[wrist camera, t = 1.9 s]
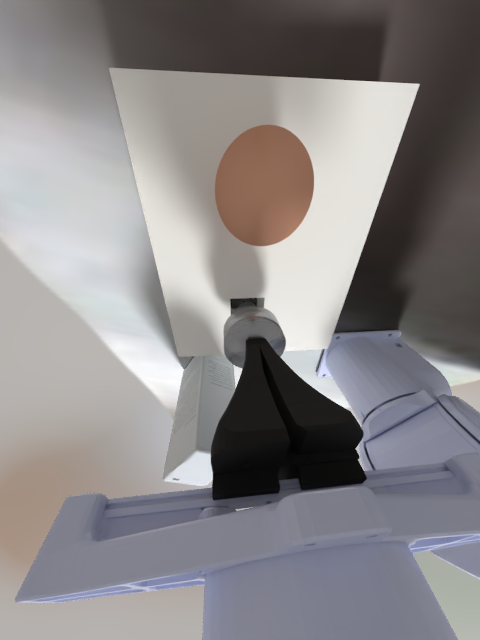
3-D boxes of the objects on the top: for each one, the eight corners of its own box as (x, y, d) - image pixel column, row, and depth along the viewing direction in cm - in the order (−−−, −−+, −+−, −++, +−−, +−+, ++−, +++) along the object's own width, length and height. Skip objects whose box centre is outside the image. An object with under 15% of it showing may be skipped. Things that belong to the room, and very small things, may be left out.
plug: (272, 287, 17) (290, 320, 12) (267, 328, 19) (281, 367, 15) (221, 289, 16) (222, 323, 12) (223, 330, 19) (225, 370, 14)
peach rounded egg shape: (286, 151, 12) (325, 126, 7) (278, 230, 14) (303, 245, 10) (214, 150, 11) (210, 122, 7) (218, 230, 14) (217, 246, 9)
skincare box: (210, 380, 27) (205, 487, 17) (183, 370, 26) (159, 482, 16) (234, 353, 25) (243, 460, 15) (205, 340, 23) (193, 450, 13)
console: (375, 108, 13) (419, 83, 10) (314, 329, 24) (328, 348, 21) (135, 98, 12) (108, 67, 9) (183, 336, 22) (178, 357, 19)
